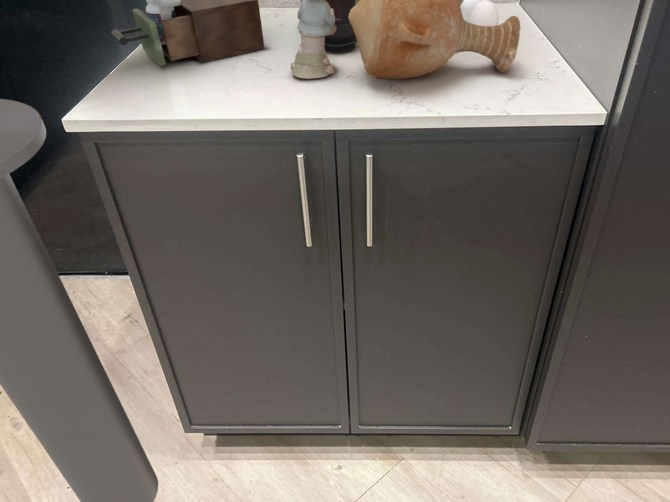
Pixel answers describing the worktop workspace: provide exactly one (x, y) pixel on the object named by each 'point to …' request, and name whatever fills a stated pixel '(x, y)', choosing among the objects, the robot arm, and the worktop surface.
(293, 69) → the figurine
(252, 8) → the cabinet
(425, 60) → the jug
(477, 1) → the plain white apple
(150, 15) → the pill bottle
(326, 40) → the camera lens
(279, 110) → the worktop surface
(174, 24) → the drawer
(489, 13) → the egg
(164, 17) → the robot arm
